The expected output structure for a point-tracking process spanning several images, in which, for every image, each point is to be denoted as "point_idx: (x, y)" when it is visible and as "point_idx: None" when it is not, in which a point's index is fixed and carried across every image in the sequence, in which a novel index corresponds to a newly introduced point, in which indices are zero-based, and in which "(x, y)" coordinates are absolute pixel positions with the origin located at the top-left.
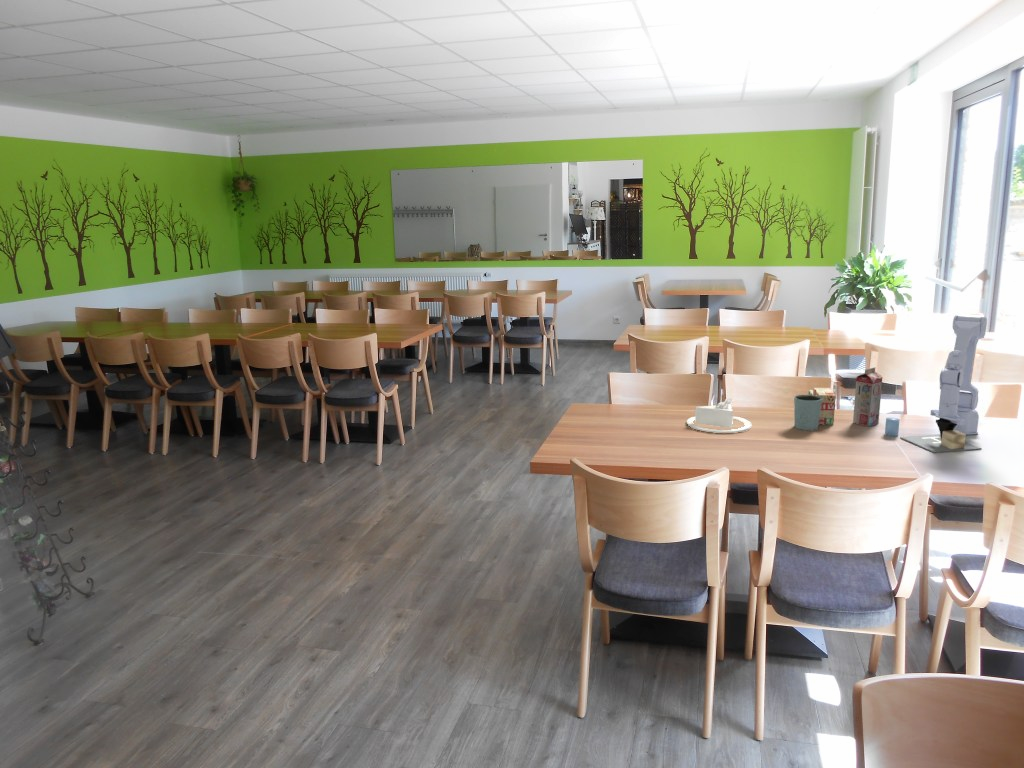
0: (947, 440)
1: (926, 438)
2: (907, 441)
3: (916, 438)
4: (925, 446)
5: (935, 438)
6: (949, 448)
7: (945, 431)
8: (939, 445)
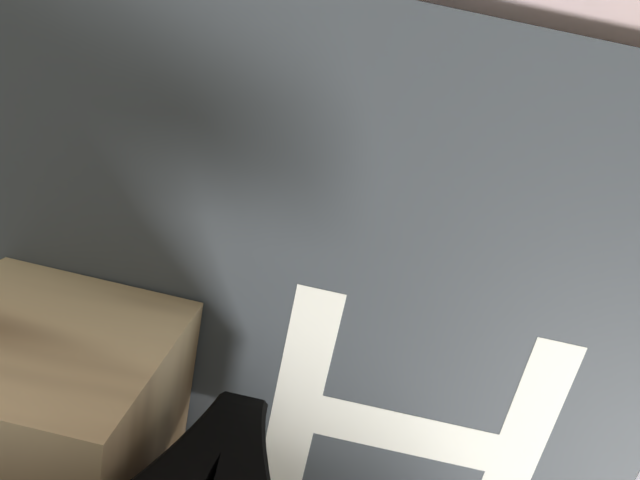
0: (31, 325)
1: (517, 379)
2: (619, 46)
3: (603, 260)
4: (220, 19)
5: (454, 471)
6: (32, 260)
7: (59, 464)
8: (190, 261)
